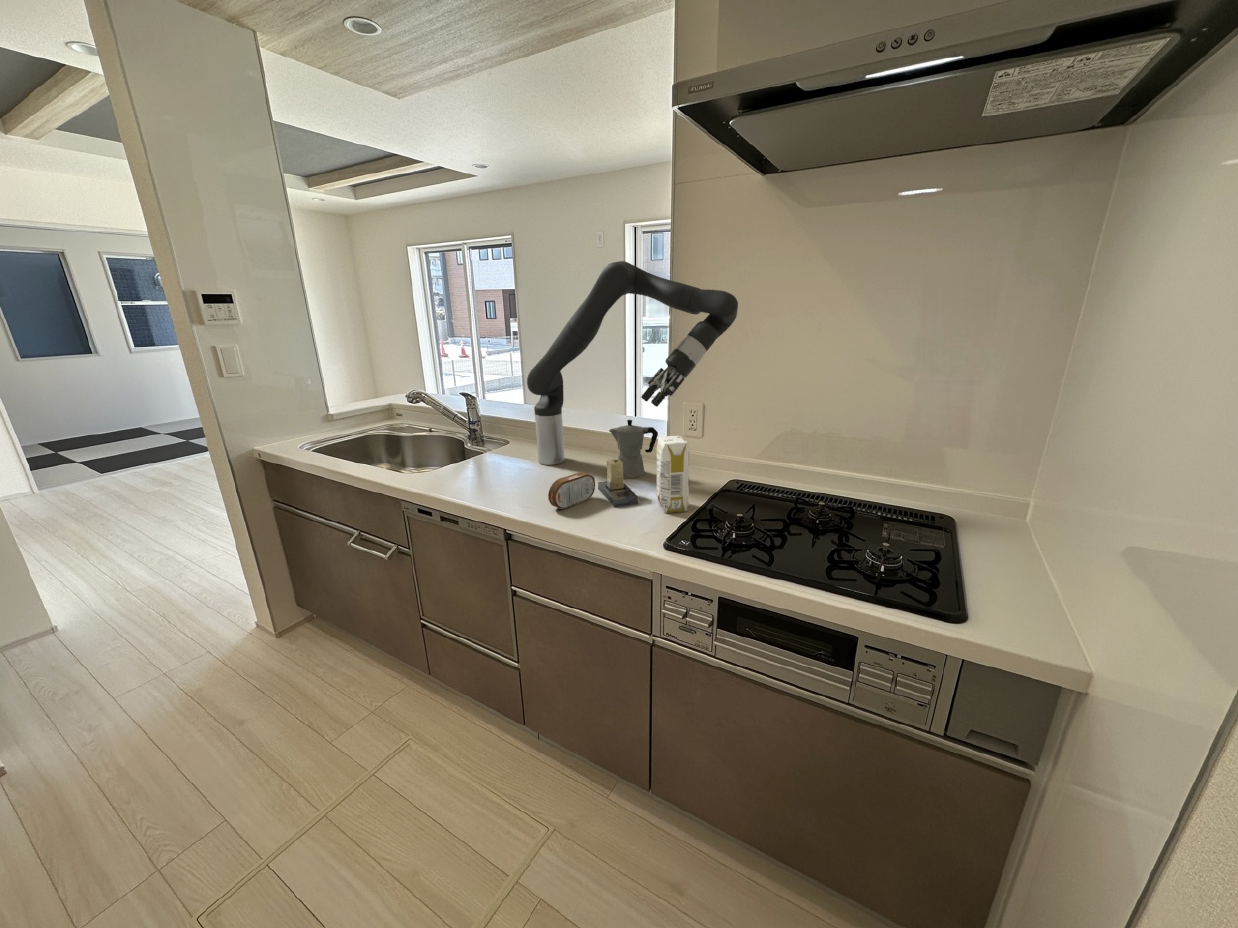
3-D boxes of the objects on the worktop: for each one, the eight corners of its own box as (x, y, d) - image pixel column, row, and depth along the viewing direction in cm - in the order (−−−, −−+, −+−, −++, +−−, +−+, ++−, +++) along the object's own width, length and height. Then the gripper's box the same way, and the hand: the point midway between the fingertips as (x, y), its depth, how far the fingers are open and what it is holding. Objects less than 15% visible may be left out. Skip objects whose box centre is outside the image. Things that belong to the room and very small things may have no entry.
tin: (590, 495, 140) (589, 467, 138) (597, 498, 138) (596, 470, 136) (548, 510, 130) (546, 481, 128) (555, 514, 128) (553, 484, 126)
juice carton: (662, 515, 126) (662, 445, 120) (654, 502, 134) (655, 436, 128) (690, 512, 127) (692, 443, 121) (681, 500, 135) (682, 434, 129)
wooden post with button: (606, 492, 142) (605, 460, 138) (620, 490, 143) (619, 458, 140) (610, 497, 138) (609, 463, 135) (624, 495, 140) (623, 461, 137)
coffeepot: (608, 478, 153) (606, 423, 147) (612, 468, 162) (610, 416, 156) (657, 479, 151) (657, 423, 146) (658, 469, 160) (658, 416, 154)
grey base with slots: (598, 488, 145) (597, 482, 144) (620, 485, 147) (620, 479, 146) (614, 507, 132) (614, 500, 131) (638, 503, 134) (638, 496, 133)
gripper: (667, 346, 139) (631, 390, 140) (687, 349, 126) (647, 397, 127) (684, 363, 142) (649, 406, 143) (706, 368, 129) (666, 415, 130)
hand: (648, 402), depth 135 cm, fingers open, 8 cm apart
